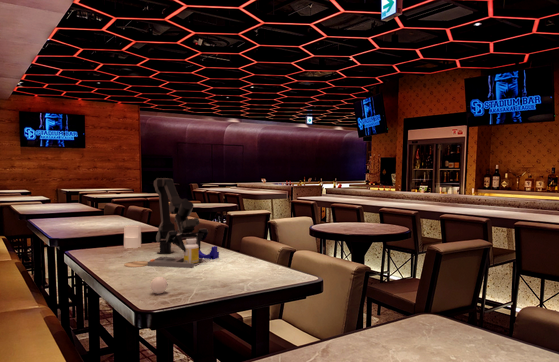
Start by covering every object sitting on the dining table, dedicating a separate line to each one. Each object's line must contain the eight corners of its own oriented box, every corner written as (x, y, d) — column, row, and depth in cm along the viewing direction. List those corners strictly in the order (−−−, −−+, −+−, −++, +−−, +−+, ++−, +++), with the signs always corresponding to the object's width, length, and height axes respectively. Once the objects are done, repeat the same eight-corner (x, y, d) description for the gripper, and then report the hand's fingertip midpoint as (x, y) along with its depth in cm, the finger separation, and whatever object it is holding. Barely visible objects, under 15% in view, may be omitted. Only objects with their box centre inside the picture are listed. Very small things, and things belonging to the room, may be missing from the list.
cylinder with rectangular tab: (120, 248, 220) (120, 226, 220) (129, 245, 229) (129, 224, 229) (135, 248, 219) (135, 227, 219) (143, 246, 228) (143, 225, 228)
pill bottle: (201, 263, 181) (201, 238, 181) (193, 266, 175) (193, 240, 175) (188, 262, 184) (188, 237, 183) (181, 265, 177) (181, 239, 177)
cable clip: (218, 258, 196) (218, 245, 196) (214, 259, 192) (214, 247, 191) (197, 256, 200) (197, 244, 200) (192, 257, 196) (192, 245, 196)
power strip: (160, 260, 188) (160, 255, 188) (202, 262, 185) (202, 257, 185) (147, 265, 177) (147, 260, 177) (192, 267, 173) (192, 262, 173)
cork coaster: (132, 261, 186) (132, 260, 186) (154, 262, 184) (154, 261, 184) (119, 266, 175) (119, 265, 175) (142, 267, 173) (142, 266, 173)
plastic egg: (167, 295, 133) (167, 278, 133) (149, 296, 132) (150, 279, 132) (167, 288, 141) (167, 273, 140) (150, 290, 139) (150, 274, 139)
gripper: (168, 213, 177) (177, 241, 168) (206, 211, 188) (217, 237, 179) (162, 229, 184) (170, 256, 175) (199, 226, 194) (209, 252, 185)
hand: (192, 250), depth 178 cm, fingers closed on pill bottle, 6 cm apart
